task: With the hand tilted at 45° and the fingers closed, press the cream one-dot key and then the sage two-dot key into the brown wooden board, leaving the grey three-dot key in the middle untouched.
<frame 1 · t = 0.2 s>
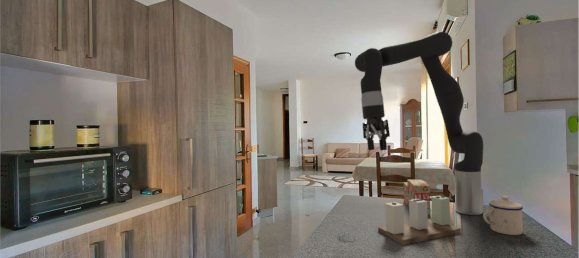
hand: (377, 150, 101), 28 cm above the countertop, tool pointing down, fingers open, 8 cm apart
brown wooden board: (418, 232, 96), on the countertop
teacup with lid: (501, 231, 95), on the countertop
stack of blocks: (416, 208, 125), on the countertop
three dot key: (418, 213, 96), point 6 cm above the countertop, slide at 0.0 cm
one dot key: (394, 217, 92), point 6 cm above the countertop, slide at 0.0 cm
two dot key: (440, 209, 99), point 6 cm above the countertop, slide at 0.0 cm
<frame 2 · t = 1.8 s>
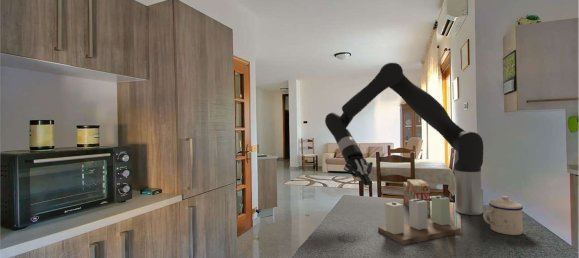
hand: (368, 184, 106), 15 cm above the countertop, tool tilted 45°, fingers closed
nothing on the countertop moved.
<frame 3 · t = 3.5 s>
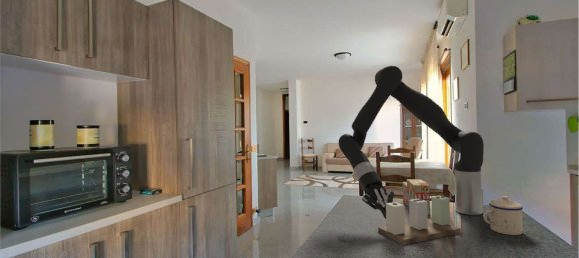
hand: (390, 218, 95), 5 cm above the countertop, tool tilted 45°, fingers closed
one dot key: (395, 217, 92), point 6 cm above the countertop, slide at 0.4 cm, touching gripper
everything else where it was.
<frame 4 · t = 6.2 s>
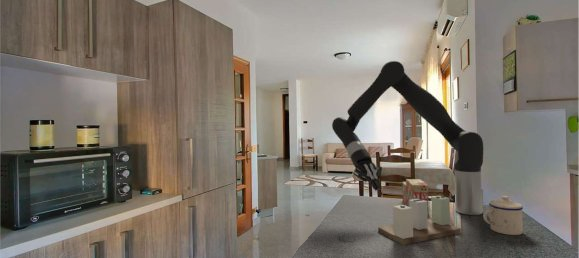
hand: (378, 189, 106), 13 cm above the countertop, tool tilted 45°, fingers closed
one dot key: (402, 220, 89), point 6 cm above the countertop, slide at 3.9 cm
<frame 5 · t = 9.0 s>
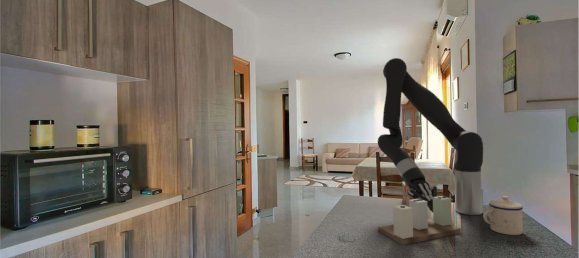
hand: (436, 211, 101), 5 cm above the countertop, tool tilted 45°, fingers closed
two dot key: (442, 210, 99), point 6 cm above the countertop, slide at 0.6 cm, touching gripper
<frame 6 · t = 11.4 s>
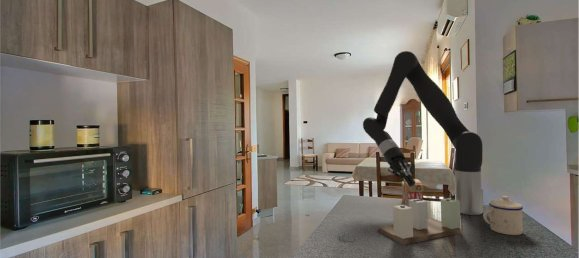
hand: (412, 185, 111), 13 cm above the countertop, tool tilted 45°, fingers closed
two dot key: (450, 212, 95), point 6 cm above the countertop, slide at 4.0 cm
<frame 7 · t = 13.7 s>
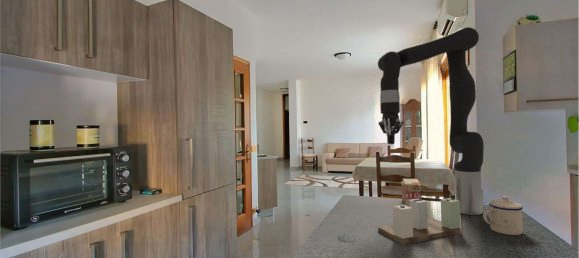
hand: (390, 144, 115), 29 cm above the countertop, tool pointing down, fingers closed
at the end: one dot key slide at 3.9 cm; two dot key slide at 4.0 cm; three dot key slide at 0.0 cm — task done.
